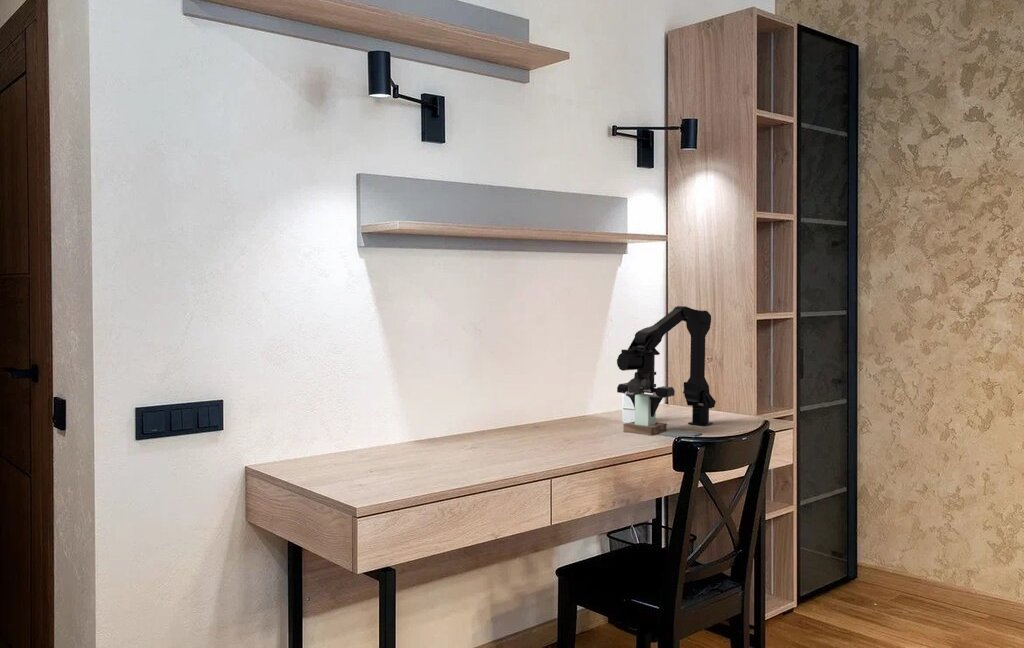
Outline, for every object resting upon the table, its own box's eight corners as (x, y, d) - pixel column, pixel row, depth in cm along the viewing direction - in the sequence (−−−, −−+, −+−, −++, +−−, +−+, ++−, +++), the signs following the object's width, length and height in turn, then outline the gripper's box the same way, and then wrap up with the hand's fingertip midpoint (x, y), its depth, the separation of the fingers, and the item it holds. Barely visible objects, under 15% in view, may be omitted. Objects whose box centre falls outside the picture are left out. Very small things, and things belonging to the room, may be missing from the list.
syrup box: (636, 424, 295) (637, 382, 295) (621, 422, 299) (622, 381, 298) (644, 422, 300) (644, 381, 299) (629, 420, 303) (630, 380, 303)
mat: (673, 430, 283) (673, 429, 283) (701, 434, 277) (701, 432, 277) (659, 435, 275) (659, 433, 275) (687, 438, 269) (687, 437, 269)
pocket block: (639, 427, 289) (639, 420, 289) (666, 431, 283) (666, 423, 283) (623, 431, 281) (623, 424, 281) (651, 435, 274) (651, 427, 274)
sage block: (642, 426, 285) (642, 393, 285) (655, 427, 282) (655, 394, 282) (634, 428, 281) (634, 395, 281) (647, 429, 278) (648, 396, 278)
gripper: (608, 368, 280) (608, 416, 281) (659, 373, 269) (658, 422, 269) (625, 366, 289) (625, 411, 290) (675, 370, 277) (674, 417, 278)
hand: (645, 415), depth 282 cm, fingers closed on sage block, 5 cm apart
